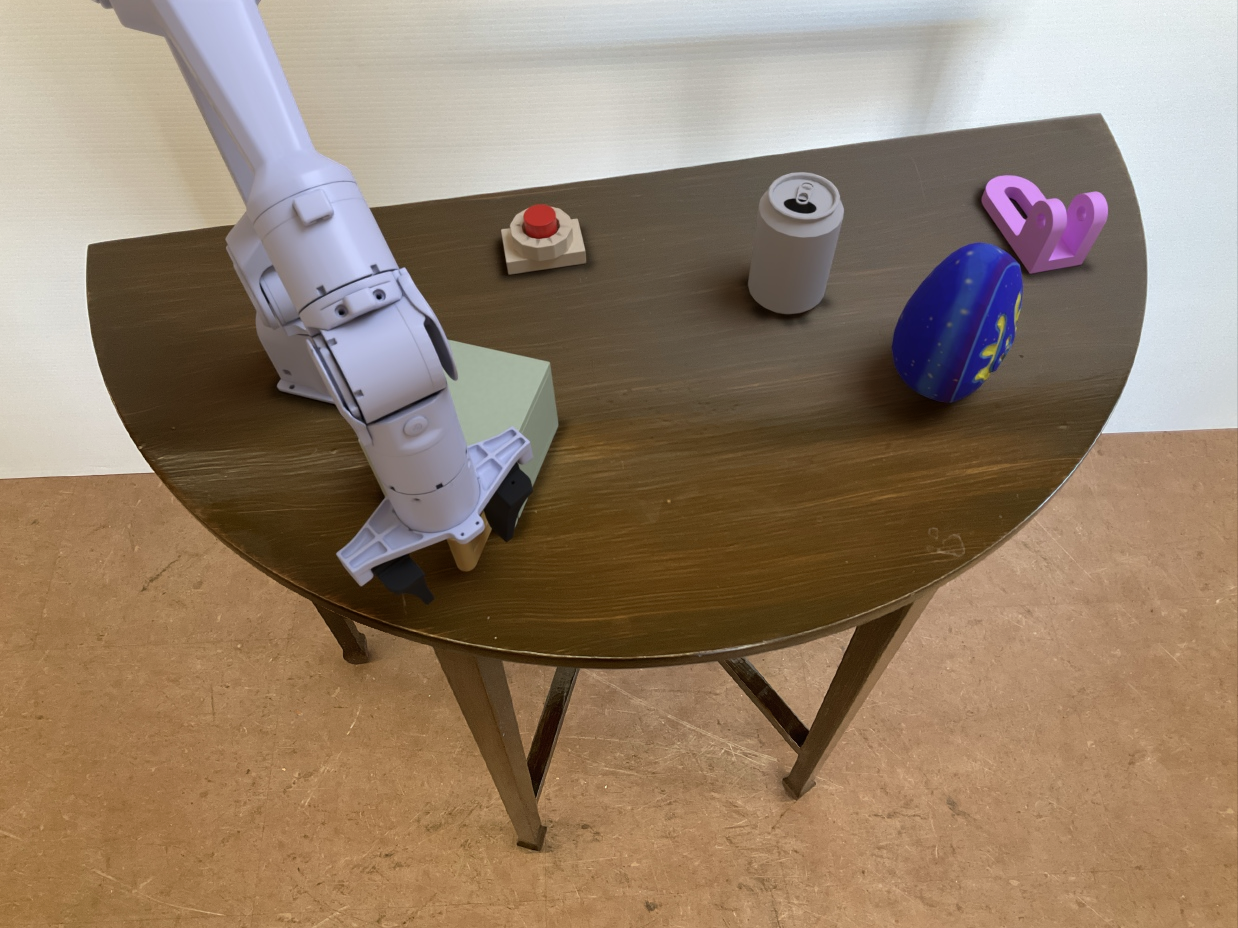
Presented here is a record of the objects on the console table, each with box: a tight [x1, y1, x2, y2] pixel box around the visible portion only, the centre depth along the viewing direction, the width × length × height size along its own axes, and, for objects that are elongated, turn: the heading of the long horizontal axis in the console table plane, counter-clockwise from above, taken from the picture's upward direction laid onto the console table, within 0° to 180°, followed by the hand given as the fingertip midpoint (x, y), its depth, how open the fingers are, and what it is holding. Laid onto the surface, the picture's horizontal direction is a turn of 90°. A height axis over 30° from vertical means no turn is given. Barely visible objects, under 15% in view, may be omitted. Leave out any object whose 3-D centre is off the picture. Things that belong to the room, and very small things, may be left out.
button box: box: [500, 206, 587, 276], centre depth 87 cm, size 8×6×4 cm
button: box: [523, 204, 557, 239], centre depth 85 cm, size 3×3×2 cm
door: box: [357, 438, 519, 572], centre depth 66 cm, size 6×12×8 cm, turn 73°
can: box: [747, 171, 845, 315], centre depth 79 cm, size 8×8×12 cm
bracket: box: [981, 174, 1109, 274], centre depth 86 cm, size 13×6×7 cm, turn 12°
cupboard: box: [442, 339, 559, 519], centre depth 71 cm, size 10×12×9 cm
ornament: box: [891, 242, 1024, 404], centre depth 72 cm, size 11×9×15 cm
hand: (463, 562), depth 64 cm, fingers open, 7 cm apart
